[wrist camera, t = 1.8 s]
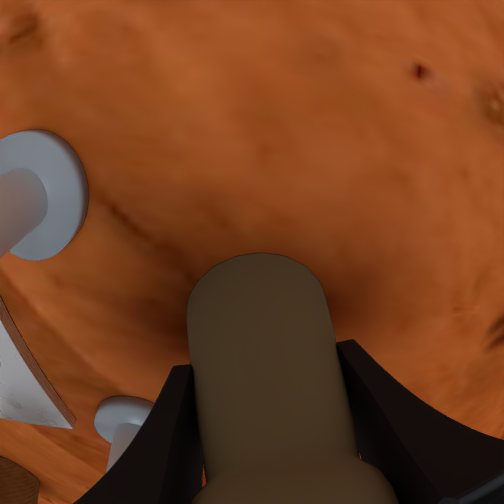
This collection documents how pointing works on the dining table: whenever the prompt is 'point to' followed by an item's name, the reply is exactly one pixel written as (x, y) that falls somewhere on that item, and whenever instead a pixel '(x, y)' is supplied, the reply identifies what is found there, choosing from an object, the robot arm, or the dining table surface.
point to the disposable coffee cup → (17, 484)
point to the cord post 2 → (120, 422)
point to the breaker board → (26, 383)
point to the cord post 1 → (40, 194)
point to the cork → (273, 390)
